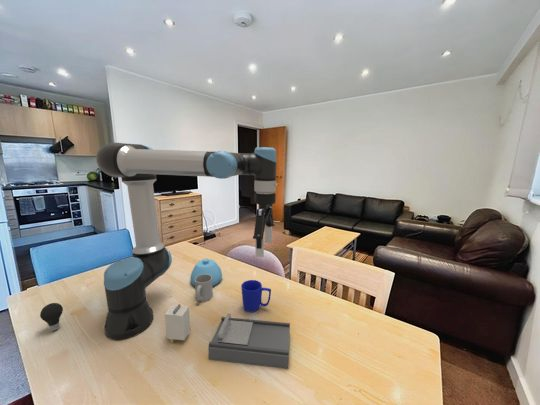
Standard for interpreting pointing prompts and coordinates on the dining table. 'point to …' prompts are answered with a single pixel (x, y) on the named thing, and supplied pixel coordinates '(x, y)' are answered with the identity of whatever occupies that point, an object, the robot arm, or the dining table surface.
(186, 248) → the dining table surface
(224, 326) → the plate
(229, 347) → the sliding lid box
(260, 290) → the mug
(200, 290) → the cup
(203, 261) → the sugar bowl
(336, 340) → the dining table surface
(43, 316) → the light bulb
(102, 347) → the dining table surface
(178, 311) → the plug
